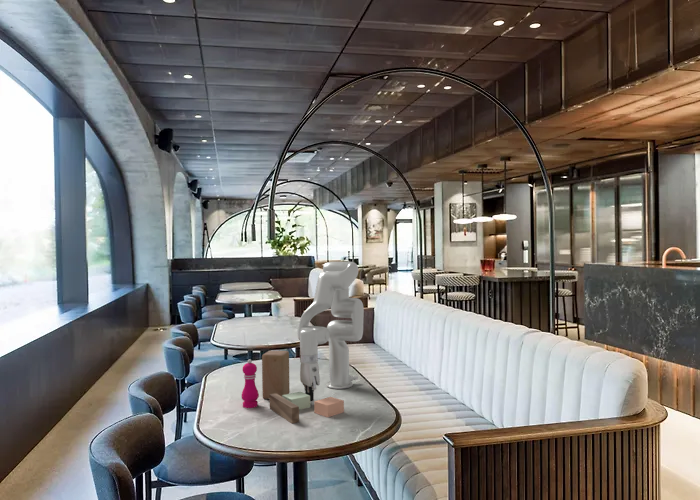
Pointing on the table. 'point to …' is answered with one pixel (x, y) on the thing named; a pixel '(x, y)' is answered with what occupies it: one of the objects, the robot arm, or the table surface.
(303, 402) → the sage block
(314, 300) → the robot arm
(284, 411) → the walnut board
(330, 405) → the terracotta block
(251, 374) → the pepper mill
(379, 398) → the table surface
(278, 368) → the wooden block
